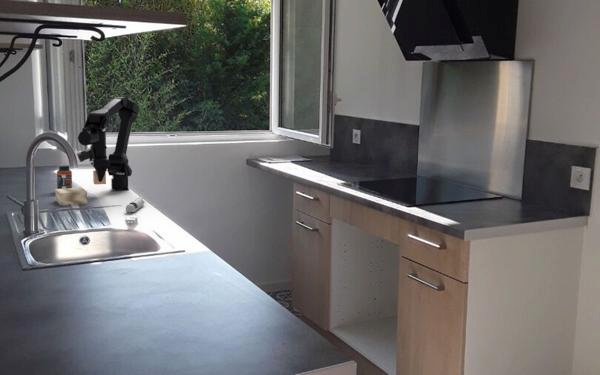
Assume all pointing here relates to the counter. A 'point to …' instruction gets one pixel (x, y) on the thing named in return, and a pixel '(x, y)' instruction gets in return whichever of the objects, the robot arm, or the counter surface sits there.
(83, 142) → the robot arm
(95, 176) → the terracotta cube
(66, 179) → the supplement bottle
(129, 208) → the torpedo
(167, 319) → the counter surface
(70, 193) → the beech block
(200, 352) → the counter surface
